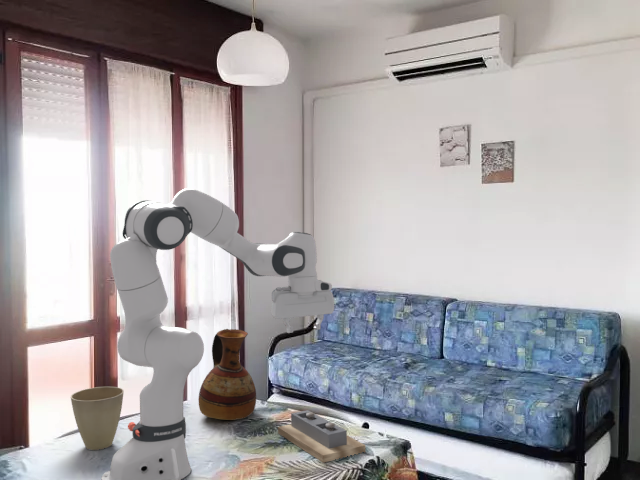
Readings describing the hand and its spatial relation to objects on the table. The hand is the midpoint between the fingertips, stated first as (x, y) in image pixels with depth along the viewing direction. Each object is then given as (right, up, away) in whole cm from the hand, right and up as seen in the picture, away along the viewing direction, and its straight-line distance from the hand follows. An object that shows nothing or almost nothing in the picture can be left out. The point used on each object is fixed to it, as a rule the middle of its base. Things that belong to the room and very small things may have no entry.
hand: (303, 331), depth 179 cm
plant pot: (-62, -35, -2) cm, 70 cm away
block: (+4, -31, -2) cm, 31 cm away
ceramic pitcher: (-27, -33, +24) cm, 49 cm away
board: (+5, -33, -3) cm, 33 cm away
